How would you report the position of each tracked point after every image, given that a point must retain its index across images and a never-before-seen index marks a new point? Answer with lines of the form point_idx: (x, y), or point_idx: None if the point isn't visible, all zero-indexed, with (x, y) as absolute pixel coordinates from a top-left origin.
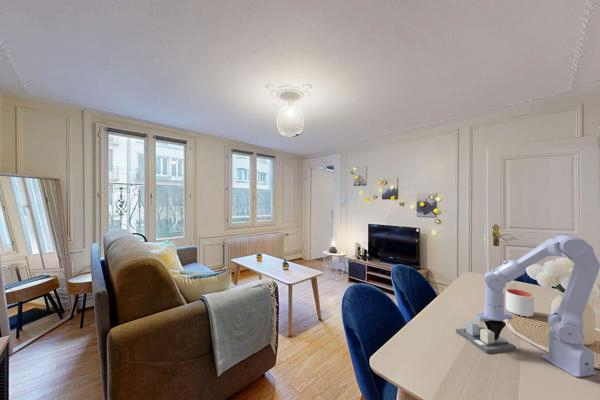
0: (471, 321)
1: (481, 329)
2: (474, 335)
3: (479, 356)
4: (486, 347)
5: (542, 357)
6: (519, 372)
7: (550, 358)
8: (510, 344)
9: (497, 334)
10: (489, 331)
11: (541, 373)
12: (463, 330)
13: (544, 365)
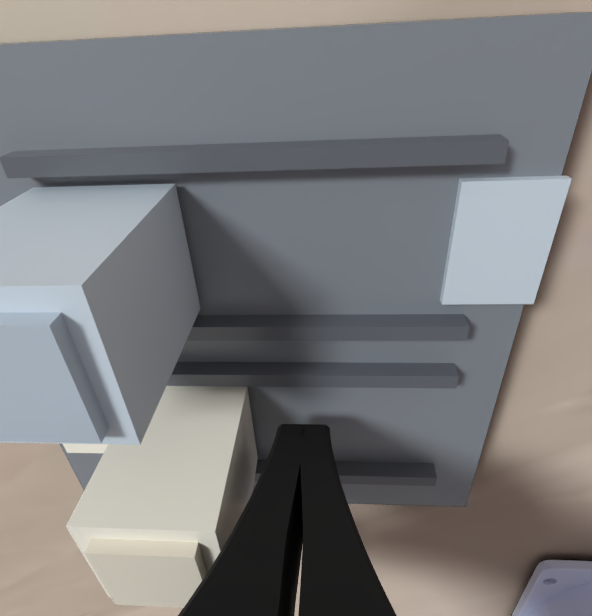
0: (12, 331)
1: (84, 533)
2: None
3: (10, 479)
4: None
5: (538, 567)
6: None
7: (557, 606)
8: (443, 481)
9: (296, 574)
10: (167, 599)
11: None
12: (12, 124)
13: (440, 587)
